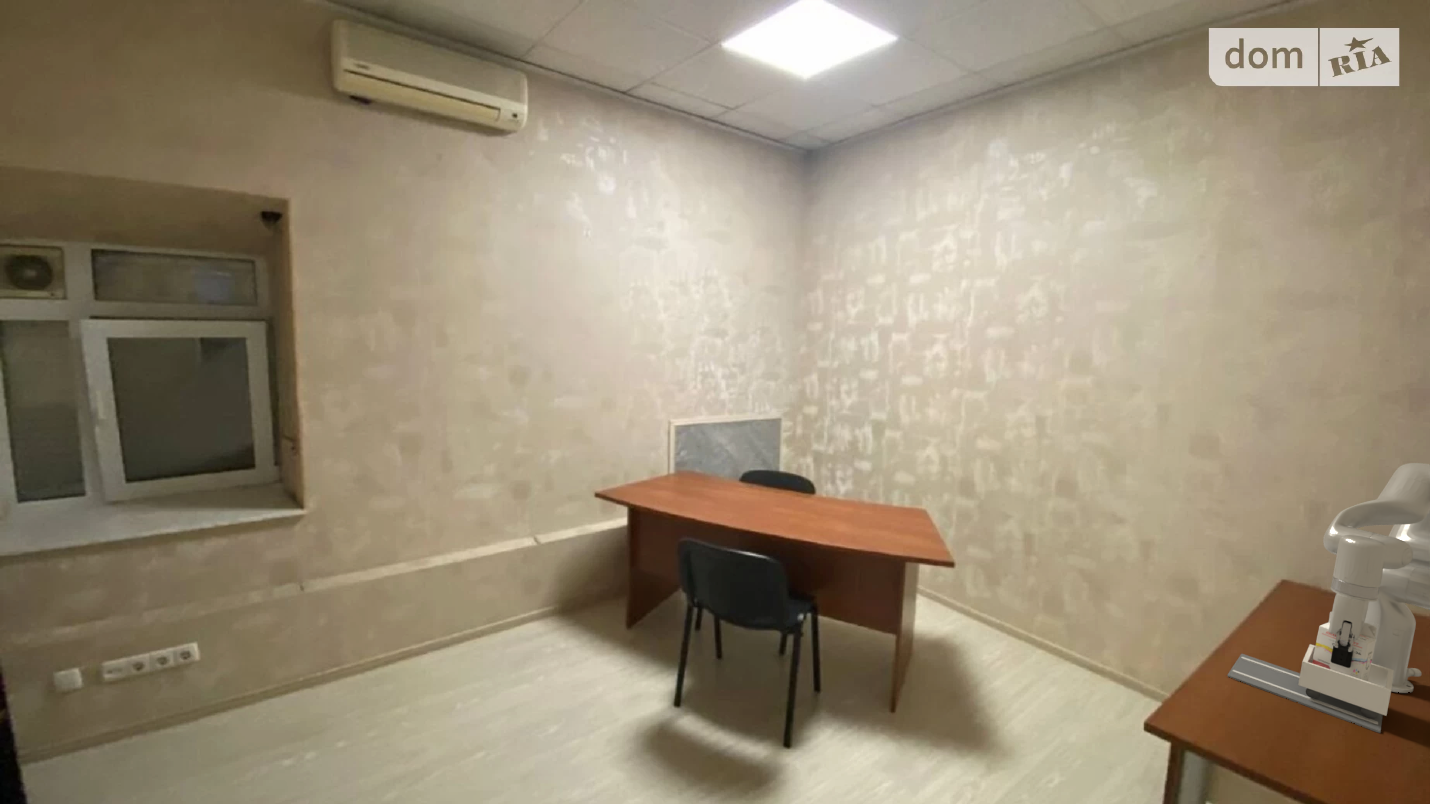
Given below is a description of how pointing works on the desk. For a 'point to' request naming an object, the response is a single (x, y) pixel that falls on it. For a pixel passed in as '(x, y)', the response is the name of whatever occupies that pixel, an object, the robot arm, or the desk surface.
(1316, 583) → the desk surface
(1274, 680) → the mat
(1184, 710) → the desk surface
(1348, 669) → the ink cartridge box
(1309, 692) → the white open box
